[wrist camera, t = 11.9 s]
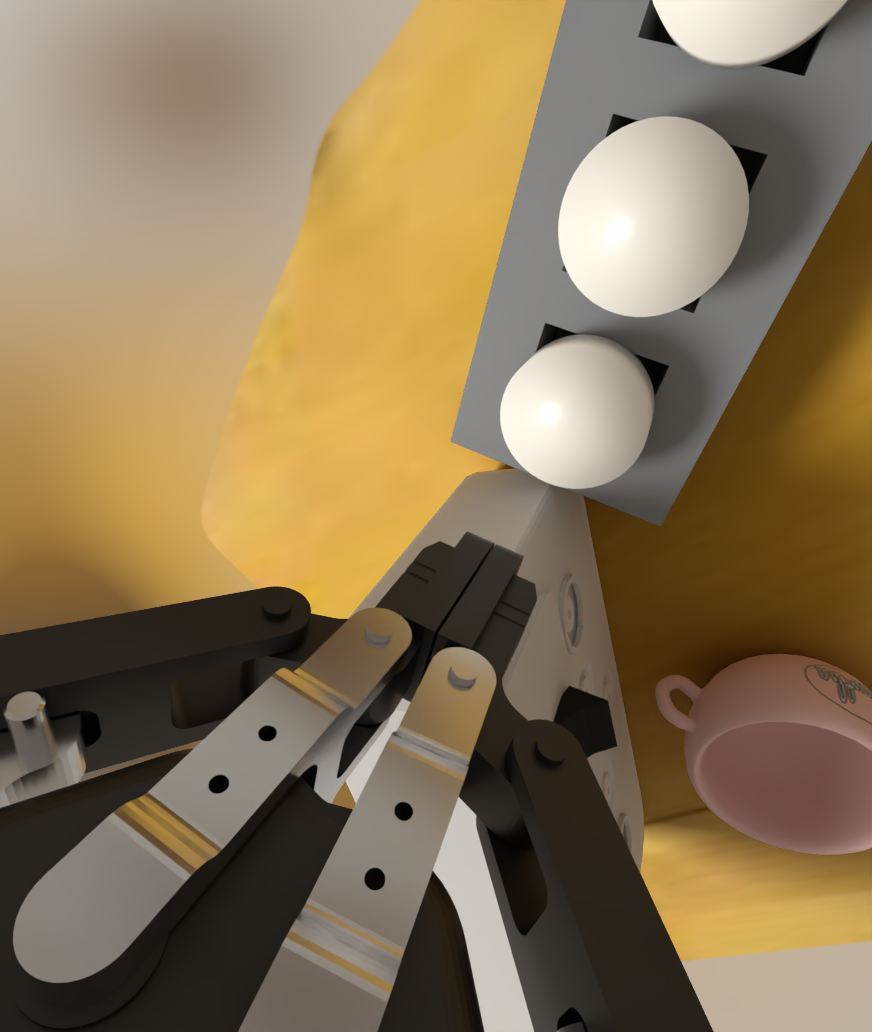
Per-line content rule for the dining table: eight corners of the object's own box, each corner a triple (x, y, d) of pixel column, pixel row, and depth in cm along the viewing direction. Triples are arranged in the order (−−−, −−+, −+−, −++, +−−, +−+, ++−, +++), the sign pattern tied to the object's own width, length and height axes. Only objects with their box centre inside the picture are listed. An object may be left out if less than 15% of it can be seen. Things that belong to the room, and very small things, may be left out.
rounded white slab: (682, 828, 41) (656, 1183, 27) (572, 809, 45) (497, 1113, 31) (621, 440, 30) (520, 698, 16) (480, 456, 34) (294, 678, 19)
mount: (1006, -161, 17) (1088, -257, 13) (670, 477, 30) (660, 526, 26) (664, -211, 19) (646, -305, 15) (485, 406, 32) (450, 441, 28)
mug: (944, 682, 29) (984, 782, 25) (830, 791, 35) (845, 889, 30) (698, 585, 32) (693, 658, 27) (629, 701, 38) (614, 778, 33)
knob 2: (686, 337, 25) (676, 379, 21) (633, 451, 29) (613, 509, 24) (561, 295, 26) (524, 325, 22) (523, 409, 30) (484, 457, 25)
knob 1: (776, 147, 21) (788, 144, 17) (702, 304, 25) (695, 340, 20) (623, 107, 22) (594, 94, 18) (572, 262, 26) (536, 286, 21)
